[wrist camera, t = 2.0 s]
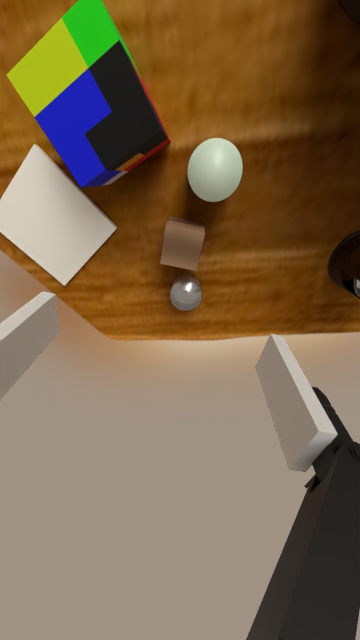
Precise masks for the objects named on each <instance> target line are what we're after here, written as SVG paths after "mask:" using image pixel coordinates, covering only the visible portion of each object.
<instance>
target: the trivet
mask: <svg viewBox="0 0 360 640" xmlns="http://www.w3.org/2000/svg"><path fill="white" fill-rule="evenodd" d="M117 228H118V227H117V226H116V225H115V224H114V223H113V222H112V221H111V220H110V219H109V218H108V217H107V216H106V215H105V214H104V213H103V212H102V211H101V210H100V209H99V208H98V207H97V206H96V205H95V204H94V203H93V202H92V201H91V200H90V199H89V198H88V197H87V196H86V195H85V193H84V192H83V191H82V190H81V189H80V188H79V187H78V186H77V185H76V184H75V183H74V182H73V181H72V180H71V179H70V178H69V177H68V176H67V175H66V174H65V173H64V172H63V171H62V170H61V169H60V168H59V167H58V166H57V165H56V164H55V163H54V162H53V161H52V160H51V158H50V157H49V156H48V155H47V154H46V153H45V152H44V151H43V150H42V149H41V148H40V147H39V146H38V145H35V144H34V145H33V147H32V148H31V150H30V152H29V153H28V155H27V157H26V158H25V160H24V162H23V163H22V165H21V167H20V168H19V170H18V172H17V173H16V175H15V176H14V178H13V180H12V181H11V183H10V185H9V186H8V188H7V190H6V191H5V193H4V195H3V196H2V198H1V199H0V232H1V233H2V234H3V235H4V236H6V237H7V238H8V239H9V240H10V241H12V242H13V243H14V244H15V245H16V246H18V247H19V248H20V249H21V250H22V251H23V252H25V253H26V254H27V255H28V256H29V257H31V258H32V259H33V260H34V261H35V262H37V263H38V264H39V265H40V266H41V267H43V268H44V269H45V270H46V271H47V272H49V273H50V274H51V275H52V276H53V277H55V278H56V279H57V280H58V281H59V282H61V283H62V284H63V285H64V286H65V285H66V284H67V283H68V282H69V281H70V280H71V279H72V278H73V276H74V275H75V274H76V273H77V272H78V271H79V270H80V269H81V268H82V267H83V265H84V264H85V263H86V262H87V261H88V260H89V259H90V258H91V257H92V256H93V254H94V253H95V252H96V251H97V250H98V249H99V248H100V247H101V246H102V245H103V244H104V242H105V241H106V240H107V239H108V238H109V237H110V236H111V235H112V234H113V233H114V231H115V230H116V229H117Z"/></svg>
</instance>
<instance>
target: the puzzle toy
mask: <svg viewBox="0 0 360 640" xmlns="http://www.w3.org/2000/svg"><path fill="white" fill-rule="evenodd" d="M7 77H8V78H9V80H10V81H11V83H12V84H13V86H14V87H15V89H16V90H17V92H18V93H19V95H20V96H21V98H22V99H23V101H24V102H25V104H26V105H27V107H28V108H29V110H30V111H31V113H32V114H33V116H34V117H35V119H36V120H37V122H38V123H39V125H40V126H41V128H42V130H43V131H44V133H45V134H46V136H47V137H48V139H49V140H50V142H51V143H52V145H53V146H54V148H55V149H56V151H57V152H58V154H59V155H60V157H61V158H62V160H63V161H64V163H65V164H66V166H67V167H68V169H69V170H70V172H71V173H72V175H73V176H74V178H75V179H76V181H77V182H78V184H79V185H80V187H81V188H84V187H93V186H102V185H110V184H111V183H113V182H114V181H116V180H117V179H118V178H120V177H121V176H123V175H124V174H125V173H127V172H128V171H130V170H131V169H133V168H134V167H135V166H137V165H138V164H140V163H141V162H143V161H144V160H145V159H147V158H148V157H150V156H151V155H152V154H154V153H155V152H157V151H158V150H160V149H161V148H162V147H164V146H165V145H167V144H168V143H170V142H171V141H170V139H169V137H168V135H167V132H166V130H165V128H164V126H163V124H162V122H161V120H160V117H159V115H158V113H157V111H156V109H155V107H154V104H153V102H152V100H151V98H150V96H149V94H148V92H147V89H146V87H145V85H144V83H143V81H142V79H141V77H140V74H139V72H138V70H137V68H136V66H135V64H134V61H133V59H132V57H131V55H130V53H129V51H128V49H127V46H126V44H125V43H124V41H123V39H122V37H121V35H120V33H119V31H118V29H117V28H116V26H115V24H114V22H113V20H112V18H111V16H110V15H109V13H108V11H107V9H106V7H105V5H104V3H103V2H102V0H78V2H77V3H76V4H75V5H74V6H73V7H72V8H71V9H70V10H69V11H68V12H67V13H66V14H65V15H64V16H63V17H62V18H61V19H60V20H59V21H58V22H57V23H56V24H55V25H54V26H53V27H52V28H51V29H50V30H49V31H48V33H47V34H46V35H45V36H44V37H43V38H42V39H41V40H40V41H39V42H38V43H37V44H36V45H35V46H34V47H33V48H32V49H31V50H30V51H29V52H28V53H27V54H26V55H25V56H24V57H23V58H22V59H21V60H20V61H19V62H18V64H17V65H16V66H15V67H14V68H13V69H12V70H11V71H10V72H9V73H8V74H7Z"/></svg>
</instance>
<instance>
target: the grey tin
mask: <svg viewBox="0 0 360 640" xmlns="http://www.w3.org/2000/svg"><path fill="white" fill-rule="evenodd" d="M201 298H202V293H201V282H200V280H199V279H198V278H197V277H196V276H195V275H193V274H191V273H182V274H179V275H178V276H176V277H175V279H174V280H173V283H172V287H171V292H170V300H171V302H172V304H173V305H174V306H175V307H176V308H178V309H180V310H183V311H189V310H192V309H194V308H196V307H197V306H198V305H199V304H200V302H201Z"/></svg>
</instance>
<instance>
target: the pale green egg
mask: <svg viewBox="0 0 360 640" xmlns="http://www.w3.org/2000/svg"><path fill="white" fill-rule="evenodd" d="M242 170H243V167H242V159H241V156H240V153H239V151H238V150H237V148H236V147H235V146H234V145H233V144H232V143H231V142H229V141H228V140H225V139H222V138H212V139H209V140H206V141H204V142H203V143H201V144H200V145H199V146H198V147H197V148H196V149H195V151H194V152H193V154H192V156H191V158H190V161H189V165H188V180H189V184H190V186H191V188H192V190H193V191H194V193H195V194H196V195H197V196H198V197H199V198H201V199H203V200H205V201H209V202H217V201H221V200H224V199H226V198H227V197H229V196H230V195H231V194H232V193H233V192H234V191H235V189H236V188H237V186H238V185H239V182H240V180H241V176H242Z"/></svg>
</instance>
